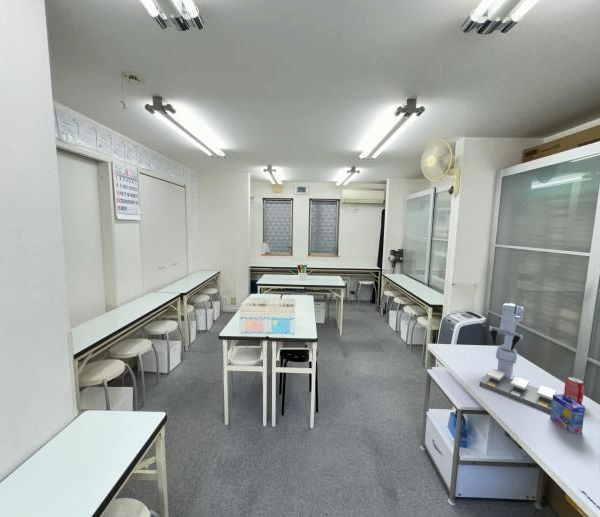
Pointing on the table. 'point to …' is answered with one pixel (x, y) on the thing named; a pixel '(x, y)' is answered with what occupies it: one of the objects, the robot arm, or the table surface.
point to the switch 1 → (496, 374)
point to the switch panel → (517, 392)
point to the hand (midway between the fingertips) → (502, 347)
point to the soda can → (574, 389)
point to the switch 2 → (520, 383)
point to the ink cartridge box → (567, 413)
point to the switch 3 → (546, 392)
